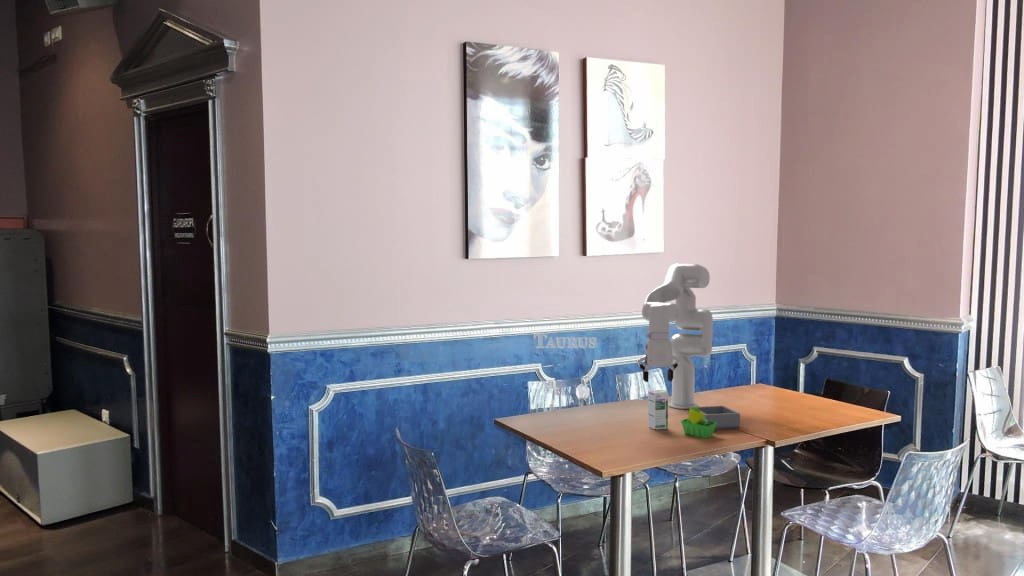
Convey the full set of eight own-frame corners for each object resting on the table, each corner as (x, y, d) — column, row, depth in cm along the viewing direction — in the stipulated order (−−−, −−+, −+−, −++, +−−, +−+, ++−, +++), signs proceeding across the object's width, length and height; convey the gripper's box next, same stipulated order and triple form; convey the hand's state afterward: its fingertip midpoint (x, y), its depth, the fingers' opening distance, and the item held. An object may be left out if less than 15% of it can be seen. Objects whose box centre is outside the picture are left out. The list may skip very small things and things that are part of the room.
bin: (690, 422, 317) (690, 407, 317) (723, 420, 320) (723, 405, 319) (705, 430, 303) (705, 415, 303) (739, 428, 306) (739, 413, 306)
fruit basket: (717, 436, 296) (718, 405, 295) (704, 440, 290) (705, 409, 289) (691, 430, 304) (691, 401, 303) (677, 434, 298) (678, 404, 297)
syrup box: (654, 430, 304) (654, 392, 303) (647, 426, 310) (648, 389, 309) (668, 429, 306) (668, 391, 305) (661, 425, 312) (661, 388, 311)
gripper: (640, 338, 300) (640, 383, 301) (684, 337, 303) (683, 382, 304) (633, 335, 307) (633, 380, 308) (676, 335, 311) (675, 379, 312)
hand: (658, 381), depth 306 cm, fingers open, 9 cm apart
